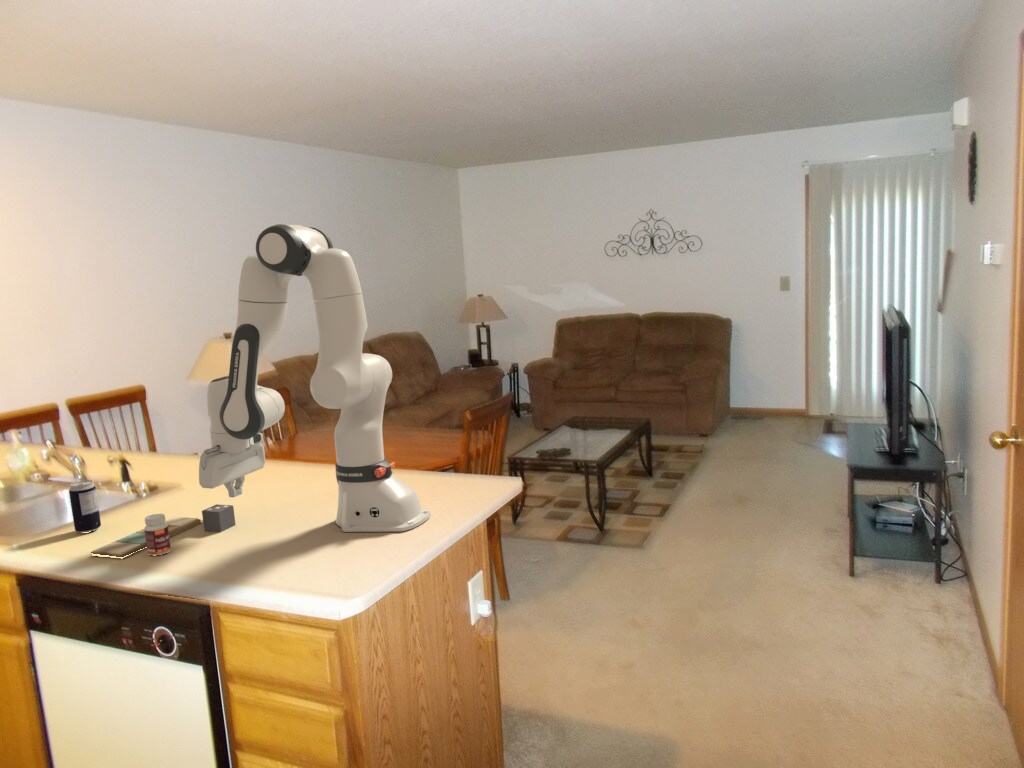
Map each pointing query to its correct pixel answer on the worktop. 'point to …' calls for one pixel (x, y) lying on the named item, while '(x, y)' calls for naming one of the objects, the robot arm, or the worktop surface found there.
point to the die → (218, 518)
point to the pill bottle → (157, 535)
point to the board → (139, 540)
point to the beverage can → (84, 506)
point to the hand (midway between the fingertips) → (235, 495)
